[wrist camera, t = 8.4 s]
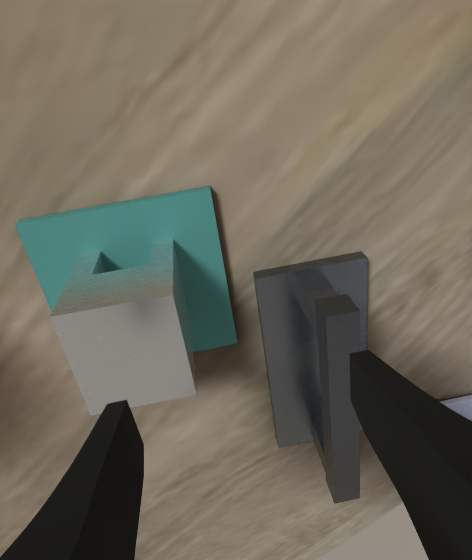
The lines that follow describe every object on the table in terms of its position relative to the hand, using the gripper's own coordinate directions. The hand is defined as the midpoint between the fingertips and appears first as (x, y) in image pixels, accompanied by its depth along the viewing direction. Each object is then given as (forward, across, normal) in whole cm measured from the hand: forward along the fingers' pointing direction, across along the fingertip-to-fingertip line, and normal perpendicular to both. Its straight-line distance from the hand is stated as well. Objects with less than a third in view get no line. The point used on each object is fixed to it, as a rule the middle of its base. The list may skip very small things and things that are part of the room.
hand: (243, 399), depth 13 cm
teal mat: (+10, +4, 0) cm, 11 cm away
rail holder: (+10, -5, +7) cm, 13 cm away
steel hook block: (+9, +4, 0) cm, 10 cm away
